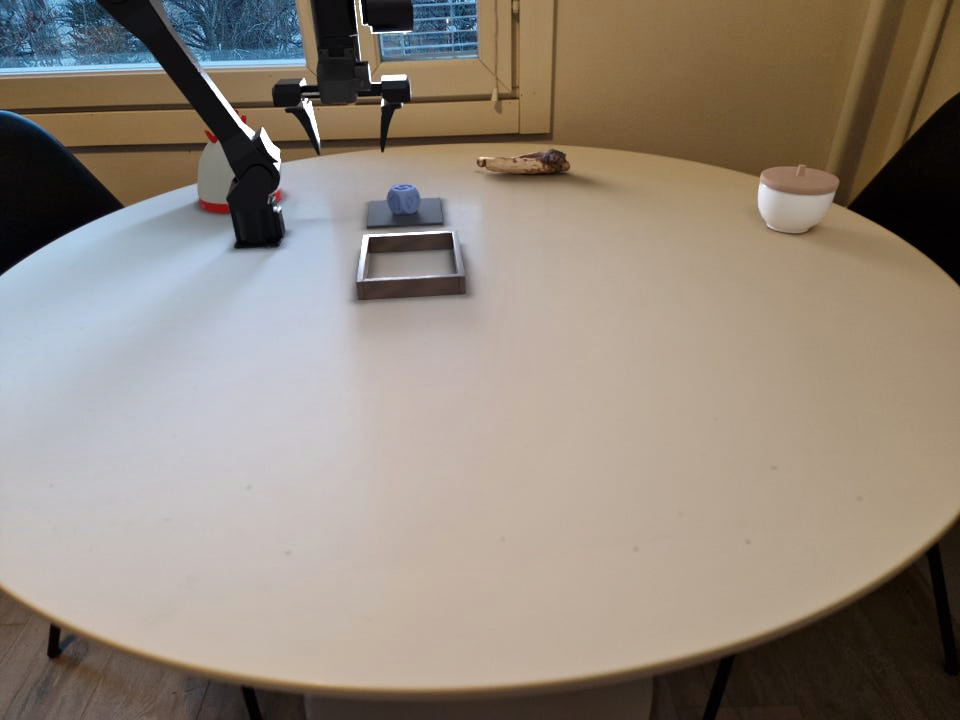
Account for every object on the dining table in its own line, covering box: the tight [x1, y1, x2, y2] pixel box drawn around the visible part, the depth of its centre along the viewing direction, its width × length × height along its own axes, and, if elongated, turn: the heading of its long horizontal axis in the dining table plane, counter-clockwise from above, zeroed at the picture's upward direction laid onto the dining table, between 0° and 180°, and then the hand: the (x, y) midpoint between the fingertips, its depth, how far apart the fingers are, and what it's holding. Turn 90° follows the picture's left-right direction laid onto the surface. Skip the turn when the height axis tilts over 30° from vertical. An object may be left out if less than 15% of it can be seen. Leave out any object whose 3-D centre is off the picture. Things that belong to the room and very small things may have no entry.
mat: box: [366, 197, 444, 229], centre depth 108 cm, size 12×12×1 cm
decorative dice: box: [386, 183, 422, 215], centre depth 106 cm, size 4×4×4 cm
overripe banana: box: [476, 148, 571, 175], centre depth 126 cm, size 9×5×18 cm
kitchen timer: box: [196, 108, 283, 214], centre depth 111 cm, size 14×14×15 cm
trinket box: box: [757, 164, 840, 234], centre depth 98 cm, size 11×11×9 cm
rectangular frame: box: [355, 230, 467, 301], centre depth 88 cm, size 14×16×2 cm
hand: (351, 153), depth 95 cm, fingers open, 9 cm apart
